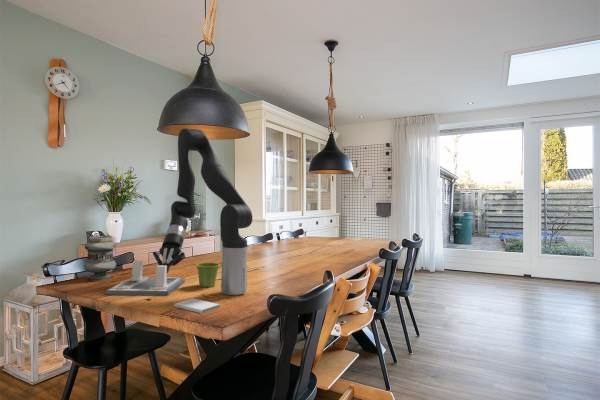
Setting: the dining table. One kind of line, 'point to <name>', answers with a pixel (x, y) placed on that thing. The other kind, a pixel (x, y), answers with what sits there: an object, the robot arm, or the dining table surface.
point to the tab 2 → (161, 276)
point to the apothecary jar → (100, 257)
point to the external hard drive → (197, 305)
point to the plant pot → (207, 274)
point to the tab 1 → (137, 270)
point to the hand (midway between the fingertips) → (163, 273)
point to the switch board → (145, 287)
